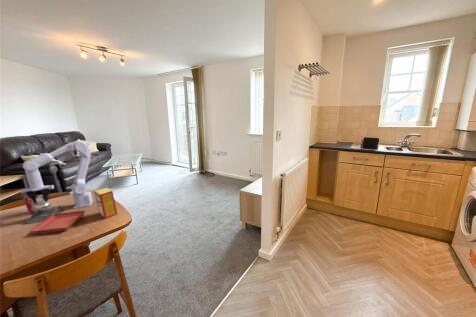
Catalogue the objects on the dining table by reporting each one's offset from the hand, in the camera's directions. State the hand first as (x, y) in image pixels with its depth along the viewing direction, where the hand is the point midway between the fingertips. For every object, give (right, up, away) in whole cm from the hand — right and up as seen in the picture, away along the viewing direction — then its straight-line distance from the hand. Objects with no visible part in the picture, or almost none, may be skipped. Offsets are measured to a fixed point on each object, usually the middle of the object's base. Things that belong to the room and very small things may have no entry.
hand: (41, 201), depth 118 cm
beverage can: (-13, -9, +9) cm, 18 cm away
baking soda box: (+39, -9, +3) cm, 40 cm away
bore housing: (0, -10, +2) cm, 10 cm away
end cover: (0, -3, +1) cm, 3 cm away
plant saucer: (+18, -12, -7) cm, 23 cm away
